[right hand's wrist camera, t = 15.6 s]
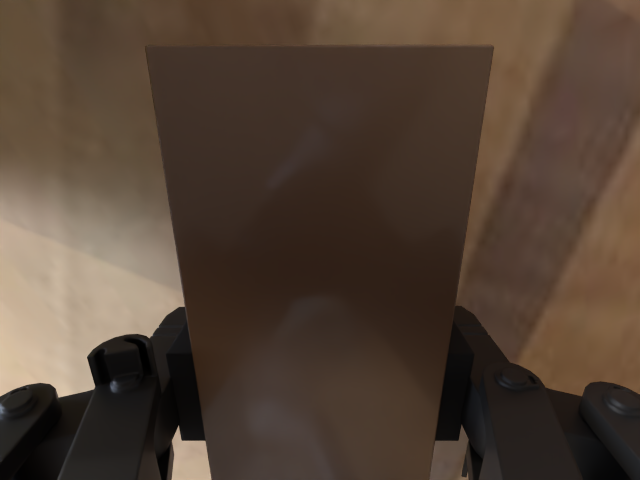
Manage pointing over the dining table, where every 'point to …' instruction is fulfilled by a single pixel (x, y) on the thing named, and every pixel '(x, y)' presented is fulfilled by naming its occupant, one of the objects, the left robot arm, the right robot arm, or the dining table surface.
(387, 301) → the bar
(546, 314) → the dining table surface
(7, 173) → the dining table surface
